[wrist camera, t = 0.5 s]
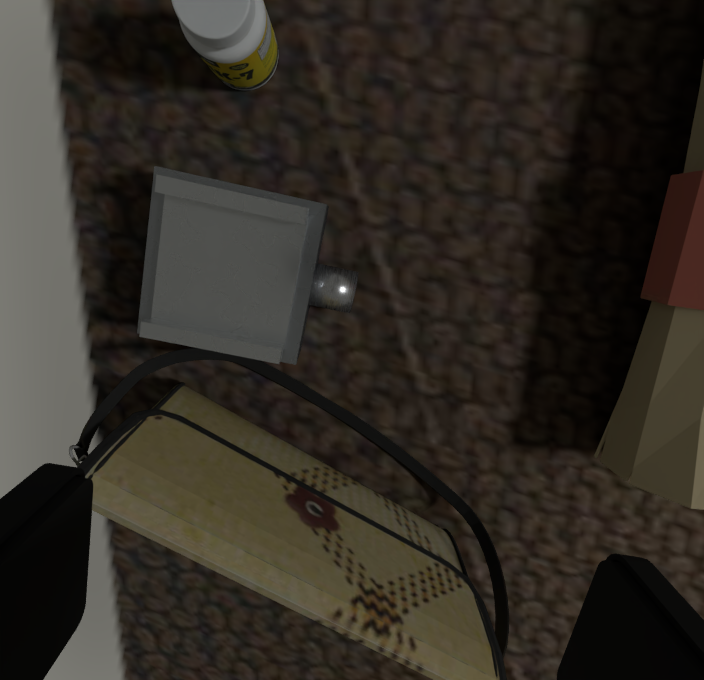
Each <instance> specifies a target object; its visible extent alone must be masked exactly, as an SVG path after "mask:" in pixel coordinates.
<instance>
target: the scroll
mask: <svg viewBox="0 0 704 680" xmlns="http://www.w3.org/2000/svg"><path fill="white" fill-rule="evenodd" d="M640 298H642V299H646V300H650V301H652V302H651V305H650V308H649V311H648V314H647V317H646V320H645V323H644V326H643V329H642V332H641V335H640V338H639V341H638V344H637V347H636V350H635V353H634V356H633V359H632V362H631V366H630V369H629V372H628V375H627V378H626V381H625V384H624V387H623V390H622V392H621V394H620V397H619V399H618V401H617V404H616V406H615V408H614V411H613V413H612V415H611V418H610V420H609V422H608V425H607V427H606V429H605V432H604V434H603V436H602V439H601V441H600V443H599V446H598V448H597V450H596V453H595V455H594V457H596V458H597V457H598V455H599V453H600V450H601V448H602V446H603V444H604V442H605V444H604V448H603V451H602V455H601V459H600V462H602V463H603V464H604V465H605V466H607V467H608V468H609V469H610V470H612V471H613V472H614V473H616V474H617V475H618V476H619V477H621V478H622V479H623V480H625V481H628V480H629V478H630V476H631V478H630V482H629V484H630V485H633V486H635V487H638V488H640V489H643V490H645V491H648V492H650V493H653V494H655V495H658V496H661V497H663V498H666V499H668V500H671V501H673V502H676V503H678V504H681V505H683V506H686V507H688V508H691V509H704V61H703V68H702V75H701V82H700V89H699V94H698V99H697V104H696V110H695V115H694V120H693V125H692V131H691V136H690V141H689V146H688V151H687V157H686V162H685V167H684V172H683V173H682V174H676V175H671V177H670V181H669V185H668V189H667V193H666V197H665V201H664V205H663V209H662V213H661V217H660V221H659V225H658V229H657V233H656V237H655V241H654V245H653V249H652V253H651V257H650V261H649V265H648V268H647V272H646V276H645V280H644V284H643V288H642V292H641V296H640Z"/></svg>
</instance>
